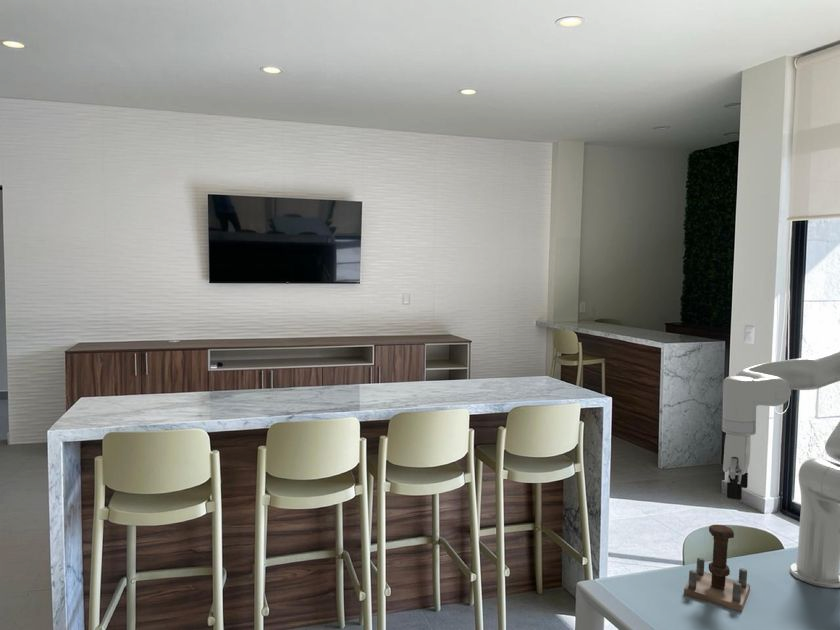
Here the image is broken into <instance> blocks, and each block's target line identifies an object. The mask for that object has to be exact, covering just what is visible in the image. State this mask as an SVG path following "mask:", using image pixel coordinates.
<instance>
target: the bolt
mask: <svg viewBox="0 0 840 630" xmlns="http://www.w3.org/2000/svg"><path fill="white" fill-rule="evenodd" d="M708 527H709V528H708V532H709V533H710V534H711V536H712V537H713V547H712V548H713V549H712V561H711V562H710V563H708V571H709V572H710V574H712V577H711V578H712V580H711V584H712V586H713V587H715V588H720V589H721V588H724V587H725V580H726V578H727V577H728V576H730V575H731V574H730V573H731V570H730V567H729V565H727V564H728V563H727V560H728V559H727V558H728V547H729V545H728V544H729V539H734V537H735V532H734V530H733V528H731V527H729V526H727V525H723V524H711V525H710V526H708Z"/></svg>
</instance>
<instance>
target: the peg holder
mask: <svg viewBox="0 0 840 630" xmlns="http://www.w3.org/2000/svg"><path fill="white" fill-rule="evenodd" d="M705 560H706V559H704V558H703V557H697V558H696V569H695V570H693V569H691V570H689V571H688V581H687V583H686V584H685V586H684V588H683V595H684V596H687V597H691V598H694V599H698V600H701V601H704V602H707V603H711V604H715V605H718V606H722V607H725V608H728V609H731V610H734V611H738V612H743V609H744V606H745V604H746V601H747V599H748V596H749V593H750V591H751V584H750V583H747V580H748V570H747V569H745V568H739V571H738V580H735V579H731V578H727V577H726V580H725V587H724V588H721V589H720V588H715V587H713V586H712V584H711V580H712V578H711V577H712V573H709V572H707V571H706V572H705Z"/></svg>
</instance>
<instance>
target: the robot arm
mask: <svg viewBox="0 0 840 630" xmlns="http://www.w3.org/2000/svg"><path fill="white" fill-rule="evenodd" d="M838 382H840V345H838V346H834V347H832V348H828V349H825V350H822V351H820V352H817V353H813V354H810V355H807V356H804V357H801V358H792V359H791V358H790V359H785V360H779V361H778V360H776V361H769V362H765V363H761V364H760V363H759V364H756V365H753V366H750V367H747V368H744V369H742V370H740V371H739V372H738V373H736V374H735V375H731V376H727V377H725V378H724V380H723V384H722V417H721V418H722V421H721V425H722V426H721V430H722V432H724V433H725V437H724V447H723V448H724V450H723V452H724V453H723V464H722V466H723V467H722V470H723V472H724V473H726V472H728V475H727V481H726V498H728V499H730V500H731V499H732V500H737V501H741V500H742V498H743V497H742V495H743V493H742V491H743V489H747V488H748V484H749V483H748V482H749V480H748V477H749V473H748V469H749V466H750V460H751V437H752V436H753V435H756V432H757V407H758V406H762V407H763V406H766V407H778V406H781V405H784V404H786V403H787V402H788V401H789V400H790V398H791V396H792V390H794V391H795V390H797V391H812V390H818V389H819V390H820V389H821V388H824V387H827V386H829V385H832V384H834V383H838ZM824 449H825V452H826V454H827V455H828V457H830V458H832V459H833V460H835V461H837V462H839V463H836V462H833V461H830V460H827V459H823V458H809V459H808V460H806V461H804V462H803V463H802V464H801V465H800V467H799V471H798V483H799V489H800V490H799V491H800V516H799V529H798V530H799V531H798V544H797V545H798V546H797V558H796V559H797V561H796V562H794V563H792V564H790V566H789V572H790V574H791V575H792V576H793V577H795V578H796V579H798V580H800V581H802V582H804V583H807V584H810V585H811V586H812V585H813V586H816V587H821V588H828V589H829V588H831V589H835V588H836V589H838V588H839V589H840V421H839V422H838V423H837V424H836V426H835V428H834V429H833V431H832V432H831V434H830V435H829V437H828V439H827V440H826V442H825V447H824Z"/></svg>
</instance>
